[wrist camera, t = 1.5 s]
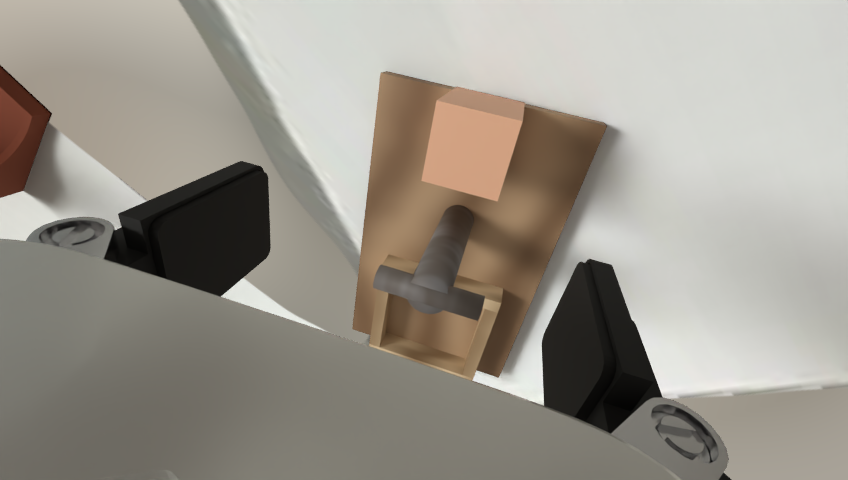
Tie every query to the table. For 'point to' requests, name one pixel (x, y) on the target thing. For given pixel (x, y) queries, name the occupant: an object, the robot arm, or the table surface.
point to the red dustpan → (18, 132)
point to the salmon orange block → (472, 142)
